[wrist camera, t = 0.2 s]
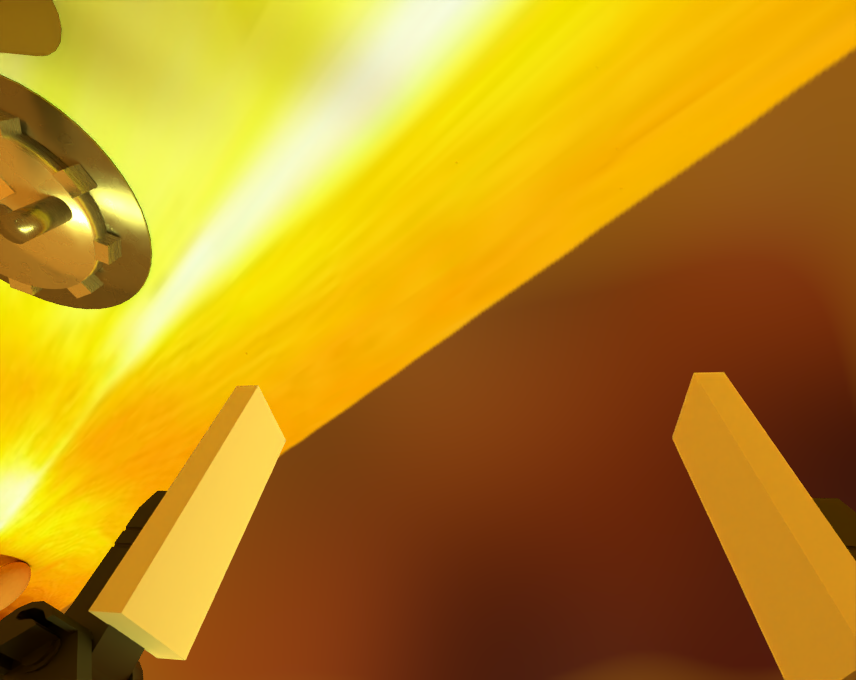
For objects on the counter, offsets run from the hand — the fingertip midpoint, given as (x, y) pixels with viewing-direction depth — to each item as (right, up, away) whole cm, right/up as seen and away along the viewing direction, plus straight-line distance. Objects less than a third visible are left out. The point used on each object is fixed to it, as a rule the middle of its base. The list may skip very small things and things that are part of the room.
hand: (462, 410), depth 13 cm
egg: (-96, -50, +85) cm, 138 cm away
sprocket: (-41, +16, +28) cm, 52 cm away
